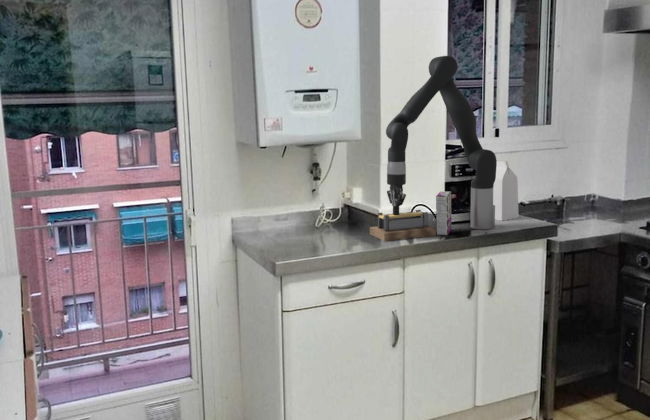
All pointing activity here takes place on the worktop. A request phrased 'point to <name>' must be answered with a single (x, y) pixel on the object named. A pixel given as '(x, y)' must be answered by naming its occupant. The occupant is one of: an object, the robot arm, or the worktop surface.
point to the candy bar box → (443, 213)
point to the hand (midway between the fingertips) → (395, 215)
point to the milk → (505, 192)
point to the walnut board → (402, 233)
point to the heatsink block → (402, 222)
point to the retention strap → (403, 215)
